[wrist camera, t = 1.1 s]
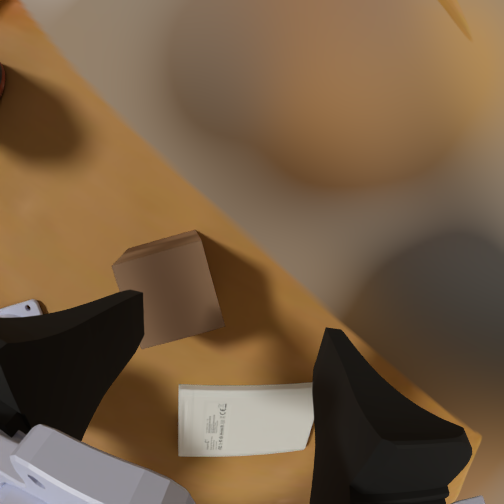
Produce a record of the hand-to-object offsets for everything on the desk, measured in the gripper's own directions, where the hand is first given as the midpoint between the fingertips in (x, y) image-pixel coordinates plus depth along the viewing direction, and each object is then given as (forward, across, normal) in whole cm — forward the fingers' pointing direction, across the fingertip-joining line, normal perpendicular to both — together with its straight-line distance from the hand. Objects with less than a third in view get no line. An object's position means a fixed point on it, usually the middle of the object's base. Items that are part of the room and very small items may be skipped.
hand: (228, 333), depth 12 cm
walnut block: (+10, +6, +2) cm, 12 cm away
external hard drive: (+10, -1, +16) cm, 19 cm away
